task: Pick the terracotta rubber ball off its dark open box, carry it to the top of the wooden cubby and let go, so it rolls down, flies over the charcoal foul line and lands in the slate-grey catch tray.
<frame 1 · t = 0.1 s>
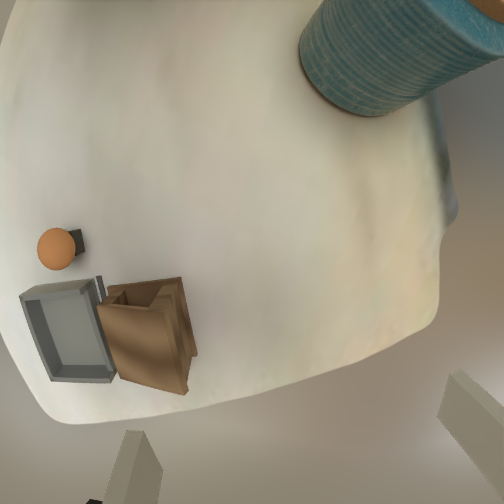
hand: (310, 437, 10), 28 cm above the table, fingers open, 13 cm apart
dark open box: (73, 241, 35), on the table
wooden cubby: (152, 321, 38), on the table
ball: (56, 249, 31), point 5 cm above the table, touching dark open box
vase: (356, 62, 33), on the table
bin: (75, 326, 38), on the table
foul line: (111, 324, 38), on the table
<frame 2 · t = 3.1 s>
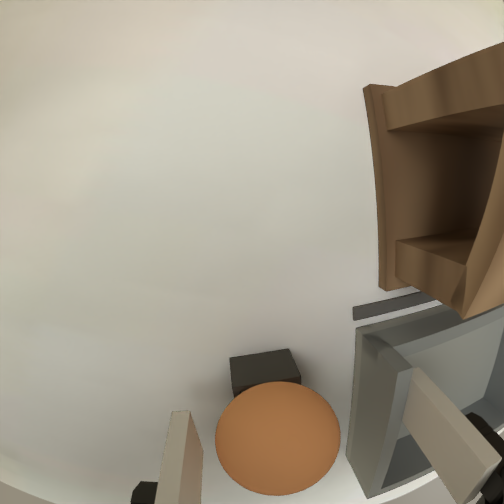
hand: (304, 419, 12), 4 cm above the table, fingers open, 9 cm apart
dark open box: (262, 376, 15), on the table
wooden cubby: (454, 184, 14), on the table
ball: (278, 439, 11), point 5 cm above the table, touching dark open box
bin: (438, 373, 17), on the table
foul line: (452, 288, 15), on the table
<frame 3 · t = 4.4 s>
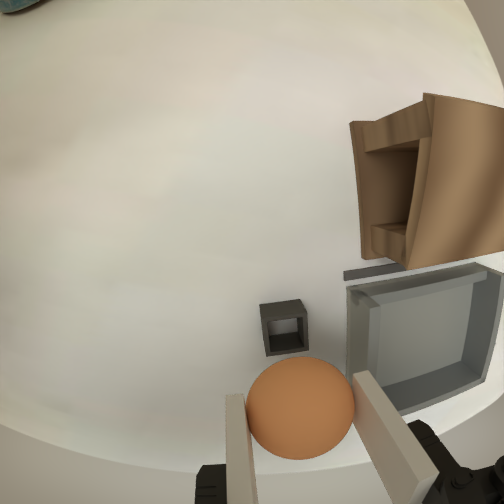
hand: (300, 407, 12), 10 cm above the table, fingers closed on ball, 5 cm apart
dark open box: (281, 320, 23), on the table
wooden cubby: (418, 186, 21), on the table
ball: (300, 408, 13), point 10 cm above the table, touching gripper
bin: (416, 331, 24), on the table
foul line: (420, 263, 22), on the table
when the fingers open (14 cm above the table, at t = 6.5 s): ball drops 10 cm and tips over, resting on bin.
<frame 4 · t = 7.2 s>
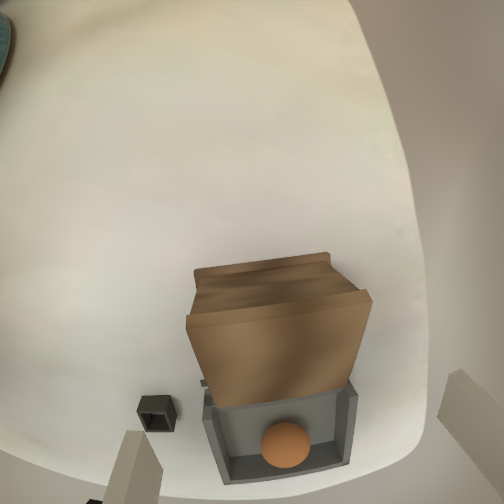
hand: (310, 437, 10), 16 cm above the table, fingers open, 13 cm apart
dark open box: (159, 406, 28), on the table
wooden cubby: (268, 316, 26), on the table
ball: (285, 445, 26), point 3 cm above the table, tilted 79°, touching bin
bin: (278, 419, 29), on the table
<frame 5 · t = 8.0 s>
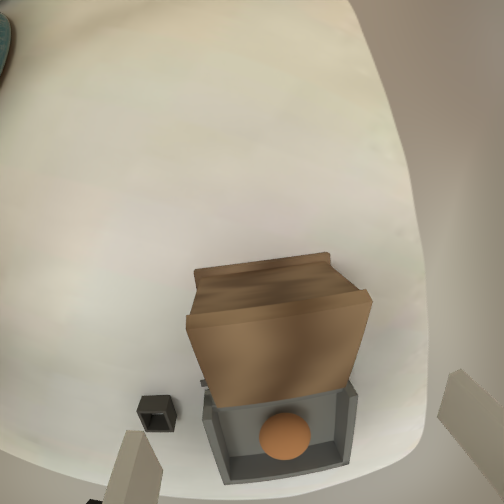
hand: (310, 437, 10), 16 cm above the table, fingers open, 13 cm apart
dark open box: (159, 406, 28), on the table
wooden cubby: (268, 316, 26), on the table
ball: (284, 436, 25), point 3 cm above the table, tilted 46°, touching bin
bin: (278, 419, 29), on the table
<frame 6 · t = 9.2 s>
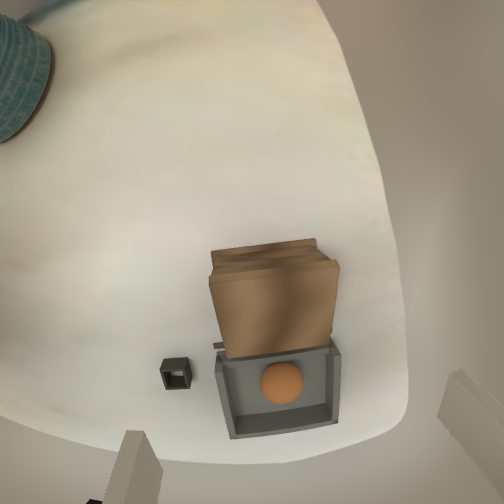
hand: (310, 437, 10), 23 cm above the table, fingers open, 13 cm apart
dark open box: (178, 368, 35), on the table
wooden cubby: (268, 289, 34), on the table
ball: (281, 382, 33), point 3 cm above the table, tilted 12°, touching bin
vase: (11, 87, 26), on the table
bin: (277, 380, 36), on the table
foul line: (273, 338, 35), on the table
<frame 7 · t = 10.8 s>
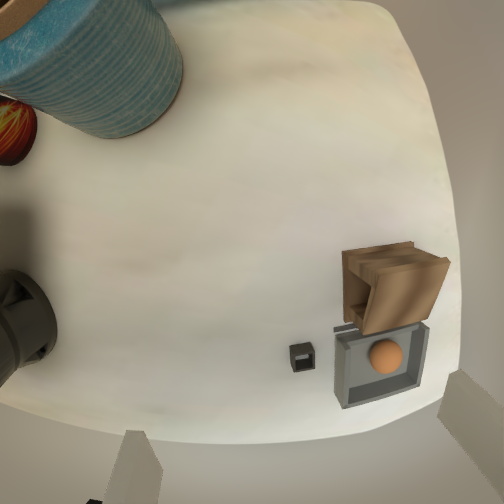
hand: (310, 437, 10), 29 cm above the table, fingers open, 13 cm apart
dark open box: (300, 352, 42), on the table
wooden cubby: (378, 280, 40), on the table
ball: (386, 357, 39), point 3 cm above the table, tilted 22°, touching bin
mug: (17, 120, 32), on the table
vase: (123, 80, 32), on the table
bin: (375, 356, 43), on the table
foul line: (377, 320, 42), on the table
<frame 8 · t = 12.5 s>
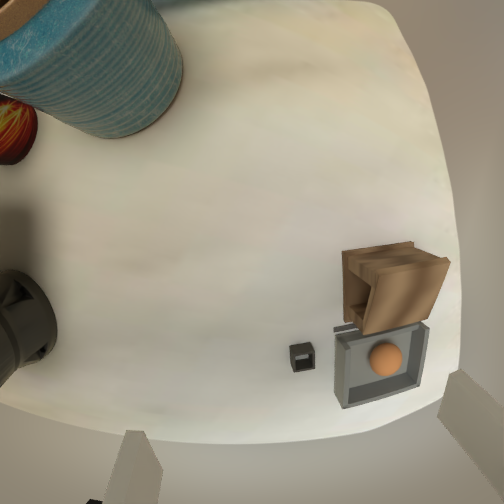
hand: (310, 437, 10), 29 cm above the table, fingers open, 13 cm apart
dark open box: (300, 352, 42), on the table
wooden cubby: (378, 280, 40), on the table
ball: (386, 359, 40), point 3 cm above the table, tilted 31°, touching bin
mug: (17, 119, 32), on the table
vase: (123, 80, 32), on the table
bin: (375, 356, 43), on the table
foul line: (377, 320, 42), on the table
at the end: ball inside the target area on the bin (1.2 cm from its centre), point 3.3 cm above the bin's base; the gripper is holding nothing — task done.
